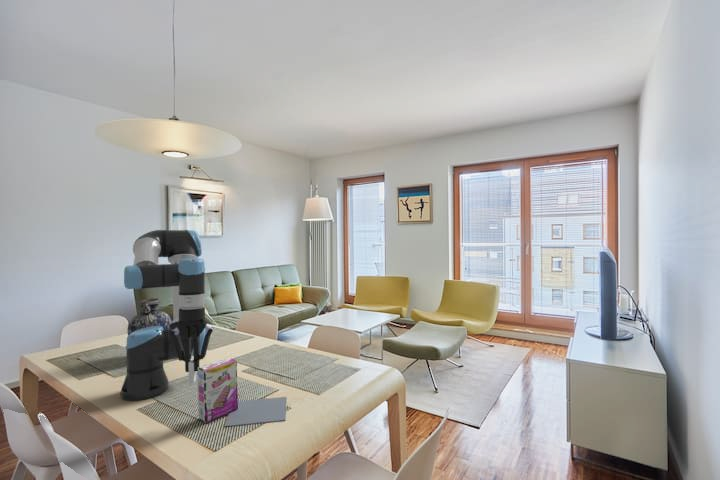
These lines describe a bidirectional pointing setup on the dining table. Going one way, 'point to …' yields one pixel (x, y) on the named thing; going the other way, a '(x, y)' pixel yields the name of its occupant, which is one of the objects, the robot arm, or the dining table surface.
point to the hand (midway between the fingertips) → (192, 381)
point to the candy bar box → (217, 389)
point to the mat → (258, 412)
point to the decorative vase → (149, 316)
